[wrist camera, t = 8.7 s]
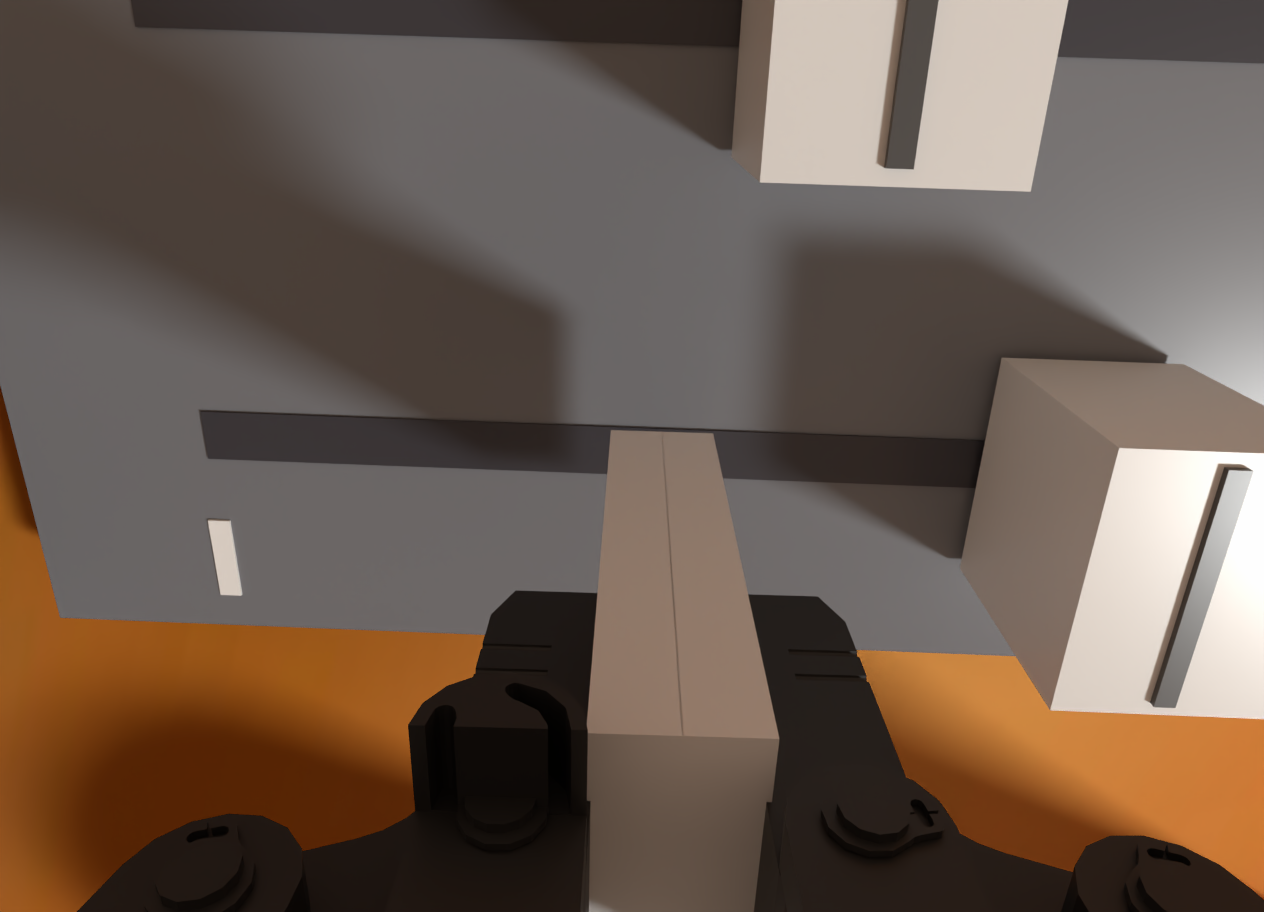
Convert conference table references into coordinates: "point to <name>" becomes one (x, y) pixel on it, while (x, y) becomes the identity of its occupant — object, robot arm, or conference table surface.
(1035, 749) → the conference table surface
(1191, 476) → the block
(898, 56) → the fader
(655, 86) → the console
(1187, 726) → the conference table surface
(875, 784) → the robot arm
